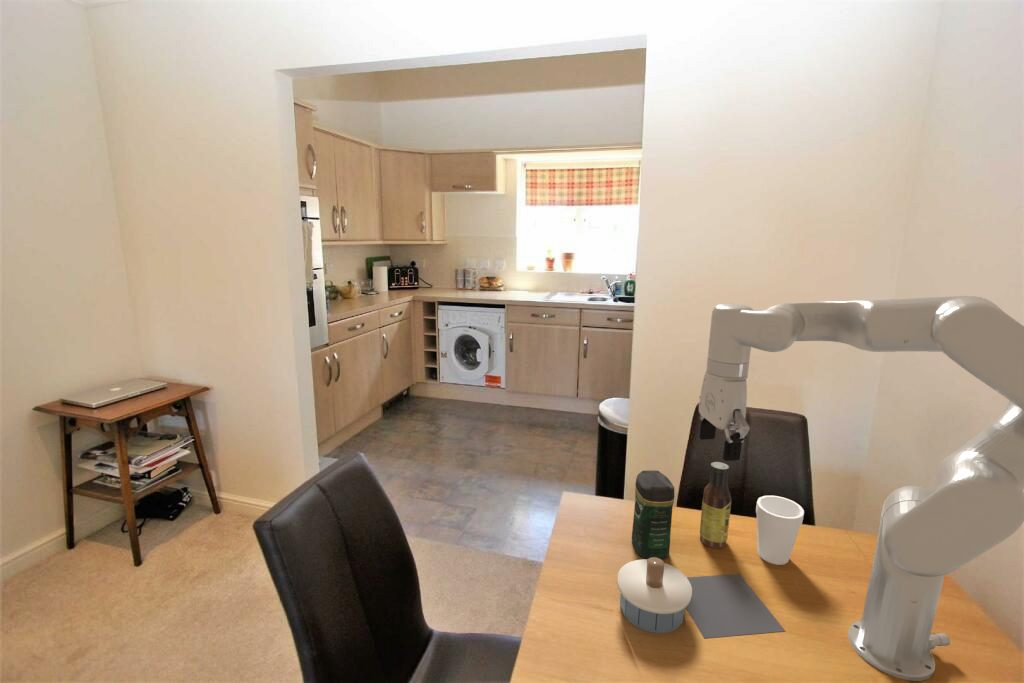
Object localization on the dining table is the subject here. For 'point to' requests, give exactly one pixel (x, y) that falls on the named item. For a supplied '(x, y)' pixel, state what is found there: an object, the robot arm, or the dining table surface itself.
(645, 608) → the lid
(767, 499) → the foam cup
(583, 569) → the dining table surface
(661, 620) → the bowl
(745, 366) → the robot arm
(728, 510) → the sauce bottle
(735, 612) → the mat
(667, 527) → the coffee jar
